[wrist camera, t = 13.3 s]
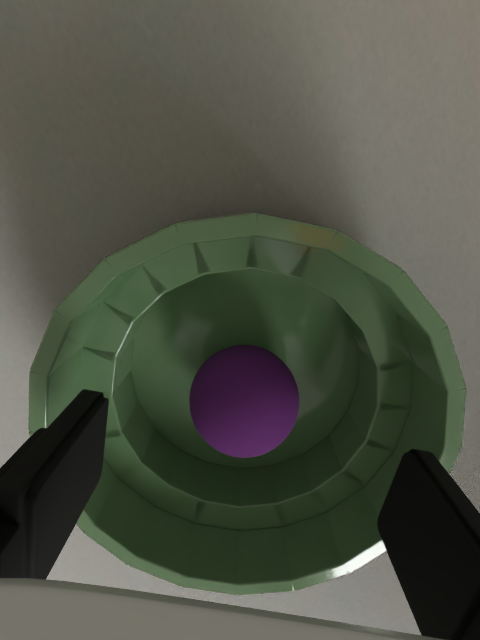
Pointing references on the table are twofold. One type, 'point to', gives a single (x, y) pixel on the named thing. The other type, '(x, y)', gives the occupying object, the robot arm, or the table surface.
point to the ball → (244, 401)
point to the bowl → (309, 373)
